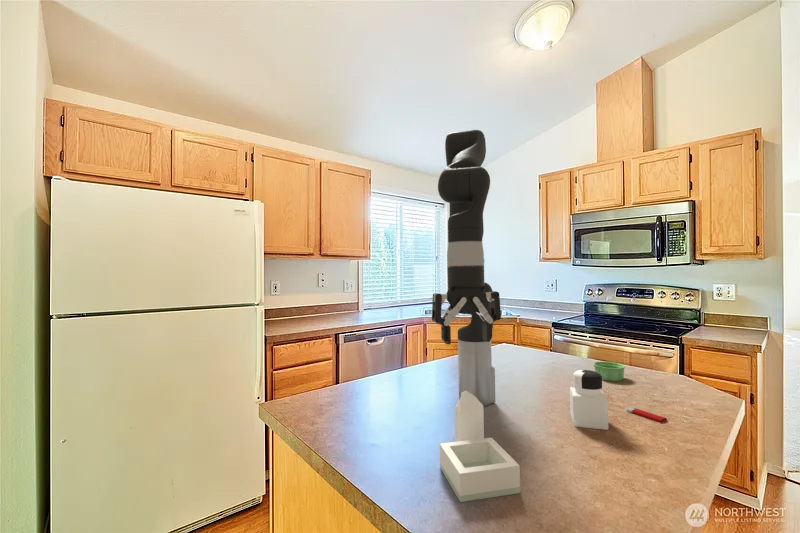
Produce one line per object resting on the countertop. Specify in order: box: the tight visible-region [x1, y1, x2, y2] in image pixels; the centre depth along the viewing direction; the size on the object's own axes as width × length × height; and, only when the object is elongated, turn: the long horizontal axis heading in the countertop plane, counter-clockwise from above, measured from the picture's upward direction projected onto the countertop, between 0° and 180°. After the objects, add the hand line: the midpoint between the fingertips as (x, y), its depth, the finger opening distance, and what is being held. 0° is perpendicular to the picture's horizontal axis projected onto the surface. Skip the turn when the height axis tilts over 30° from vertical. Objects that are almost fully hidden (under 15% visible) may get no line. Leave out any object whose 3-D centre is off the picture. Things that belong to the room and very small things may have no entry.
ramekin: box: [593, 360, 625, 382], centre depth 122 cm, size 9×9×4 cm
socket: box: [439, 437, 521, 503], centre depth 65 cm, size 10×10×4 cm
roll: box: [454, 391, 485, 442], centre depth 76 cm, size 6×12×6 cm
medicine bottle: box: [569, 369, 609, 431], centre depth 87 cm, size 7×7×12 cm
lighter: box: [626, 407, 668, 424], centre depth 90 cm, size 3×1×8 cm
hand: (467, 342), depth 76 cm, fingers open, 8 cm apart
